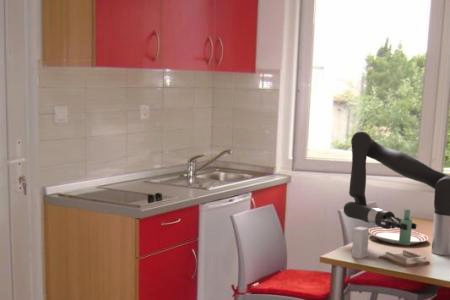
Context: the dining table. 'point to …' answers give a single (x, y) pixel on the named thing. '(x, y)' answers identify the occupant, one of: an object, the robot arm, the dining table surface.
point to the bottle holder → (405, 259)
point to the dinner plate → (395, 235)
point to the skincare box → (360, 242)
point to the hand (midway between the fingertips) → (411, 227)
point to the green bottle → (406, 234)
